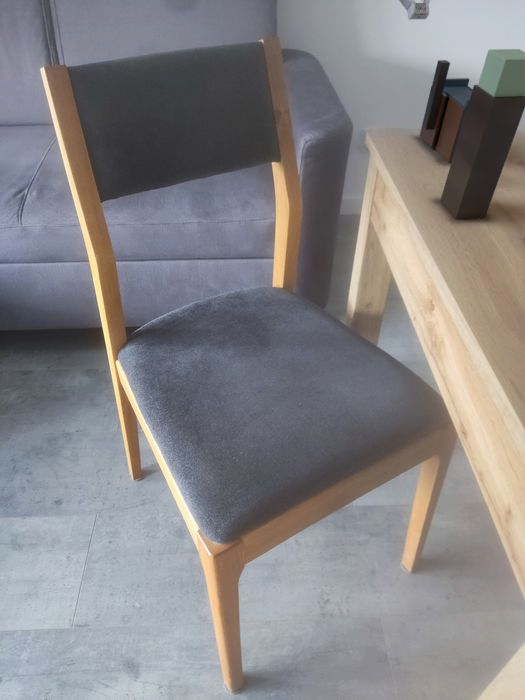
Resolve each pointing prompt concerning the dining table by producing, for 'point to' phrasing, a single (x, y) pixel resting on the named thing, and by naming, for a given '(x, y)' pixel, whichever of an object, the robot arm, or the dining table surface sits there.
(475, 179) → the plinth
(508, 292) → the dining table surface
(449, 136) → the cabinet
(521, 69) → the block
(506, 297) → the dining table surface
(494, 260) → the dining table surface
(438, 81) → the door
